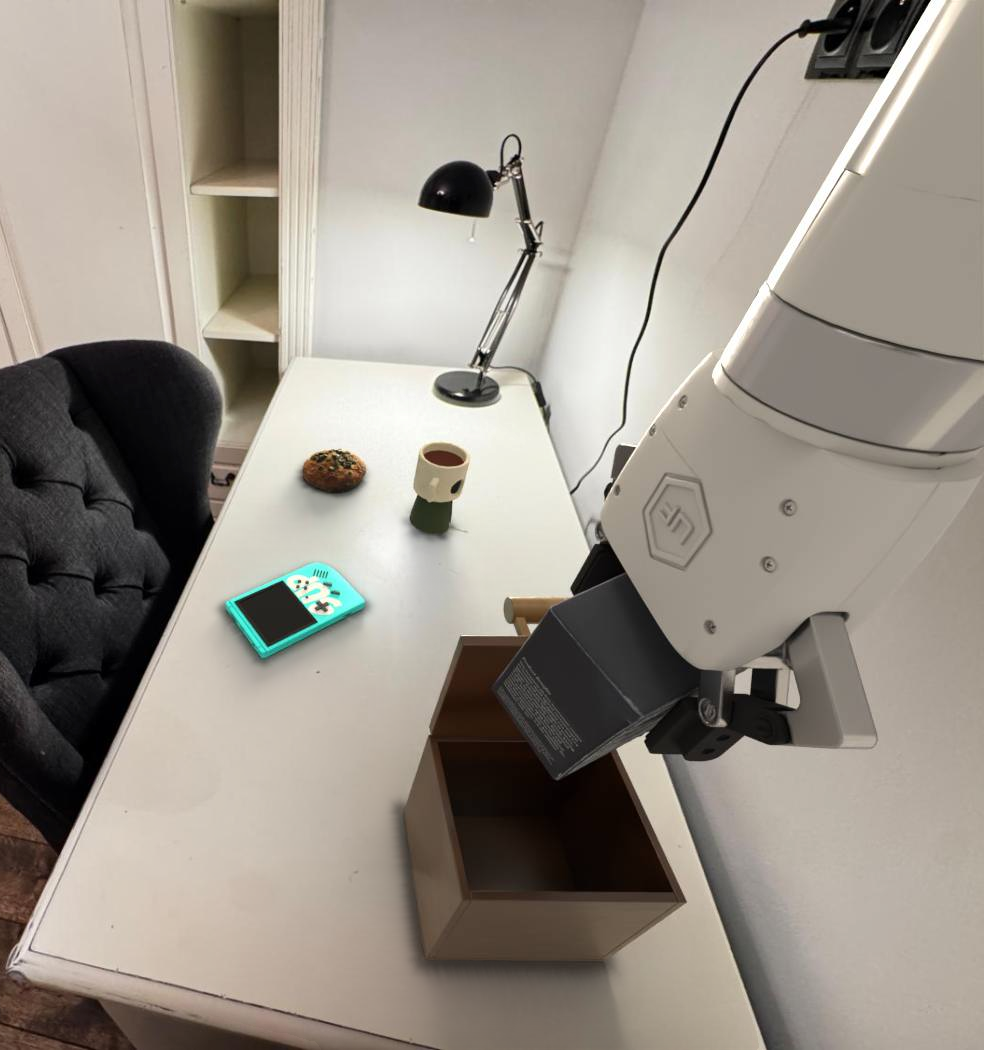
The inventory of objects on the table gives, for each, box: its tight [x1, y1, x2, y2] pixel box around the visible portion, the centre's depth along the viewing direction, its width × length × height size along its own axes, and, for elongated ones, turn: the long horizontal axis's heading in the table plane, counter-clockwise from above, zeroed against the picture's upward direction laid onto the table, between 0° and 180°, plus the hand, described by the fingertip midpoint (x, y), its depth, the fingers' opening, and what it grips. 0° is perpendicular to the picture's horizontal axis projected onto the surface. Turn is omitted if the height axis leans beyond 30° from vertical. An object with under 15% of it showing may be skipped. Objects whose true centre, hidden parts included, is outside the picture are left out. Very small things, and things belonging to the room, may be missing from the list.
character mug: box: [408, 440, 471, 536], centre depth 84 cm, size 11×7×13 cm, turn 154°
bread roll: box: [301, 448, 367, 494], centre depth 97 cm, size 11×11×5 cm
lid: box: [428, 596, 572, 736], centre depth 43 cm, size 12×15×6 cm
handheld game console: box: [225, 562, 366, 659], centre depth 75 cm, size 10×16×1 cm, turn 122°
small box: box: [492, 572, 749, 780], centre depth 31 cm, size 11×6×10 cm, turn 114°
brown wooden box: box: [402, 733, 688, 962], centre depth 46 cm, size 12×15×15 cm
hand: (632, 663), depth 30 cm, fingers closed on small box, 9 cm apart
